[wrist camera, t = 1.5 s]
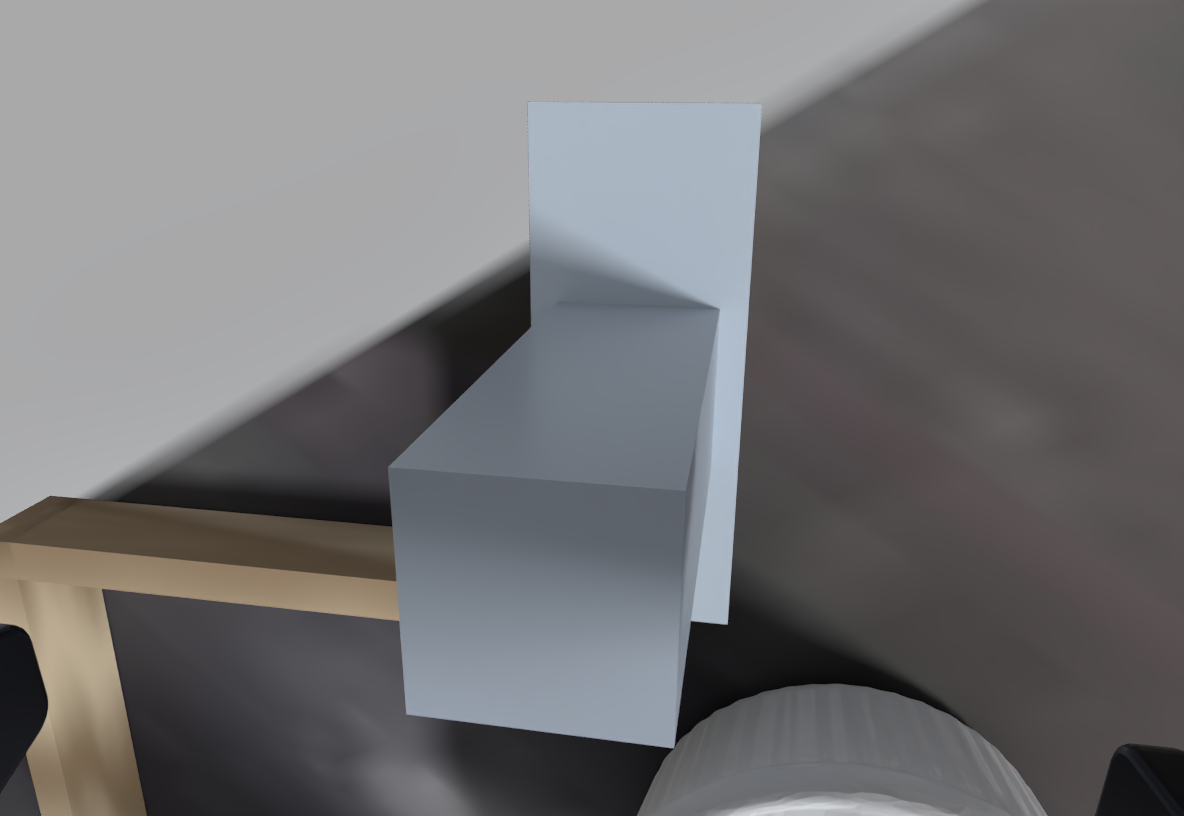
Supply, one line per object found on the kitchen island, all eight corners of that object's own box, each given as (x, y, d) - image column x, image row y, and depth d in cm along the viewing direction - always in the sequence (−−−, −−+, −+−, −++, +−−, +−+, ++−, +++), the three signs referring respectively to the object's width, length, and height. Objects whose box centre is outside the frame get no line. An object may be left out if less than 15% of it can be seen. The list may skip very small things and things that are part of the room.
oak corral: (582, 998, 26) (565, 1086, 24) (140, 921, 28) (85, 993, 26) (584, 543, 21) (562, 597, 19) (50, 496, 24) (-28, 538, 21)
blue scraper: (761, 103, 17) (765, 103, 7) (731, 554, 21) (705, 995, 10) (563, 102, 18) (308, 99, 8) (564, 539, 21) (386, 940, 11)
